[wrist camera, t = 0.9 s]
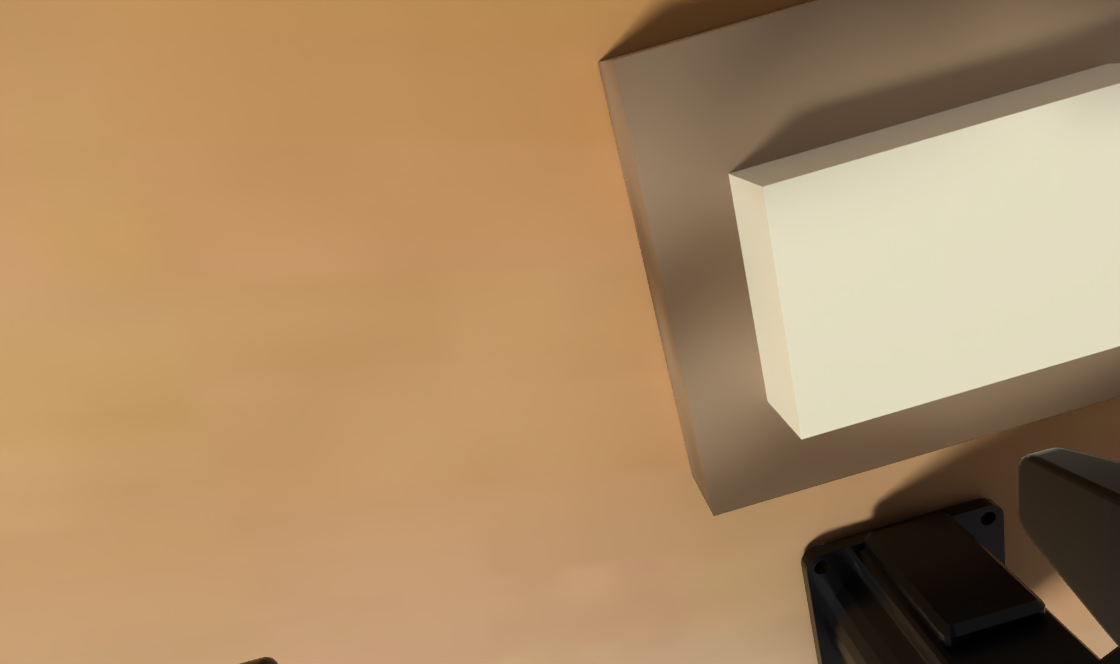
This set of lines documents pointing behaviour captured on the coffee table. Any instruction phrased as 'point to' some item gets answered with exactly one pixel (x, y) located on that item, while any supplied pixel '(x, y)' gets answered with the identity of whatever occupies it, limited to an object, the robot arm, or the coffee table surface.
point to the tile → (936, 252)
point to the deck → (797, 126)
